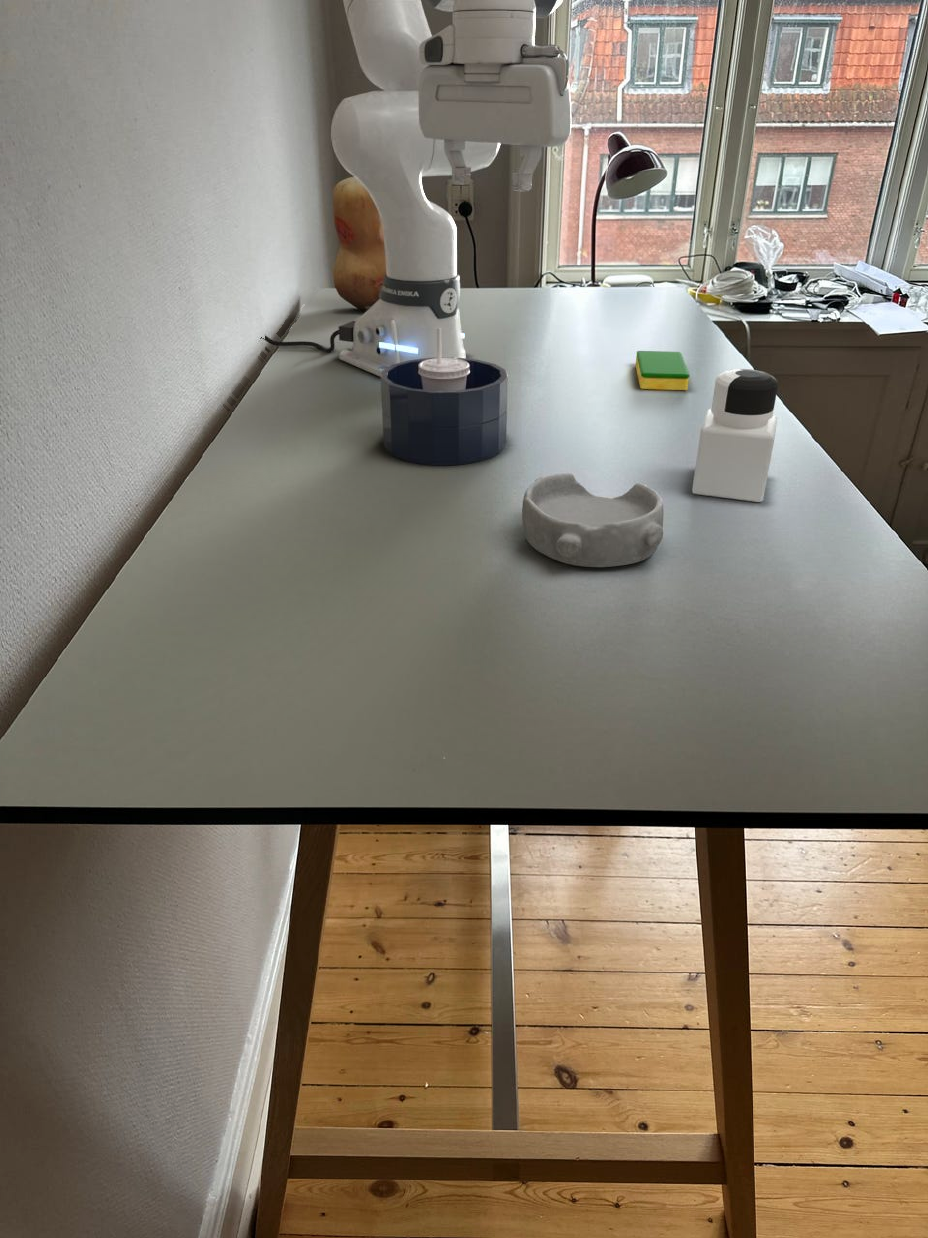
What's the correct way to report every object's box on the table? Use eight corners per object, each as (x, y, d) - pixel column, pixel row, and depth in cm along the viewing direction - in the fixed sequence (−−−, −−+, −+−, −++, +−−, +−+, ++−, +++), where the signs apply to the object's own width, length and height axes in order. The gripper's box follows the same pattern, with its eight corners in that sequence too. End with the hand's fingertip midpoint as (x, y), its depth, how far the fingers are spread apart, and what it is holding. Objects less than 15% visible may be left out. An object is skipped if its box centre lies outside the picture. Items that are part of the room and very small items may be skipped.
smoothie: (418, 432, 117) (416, 322, 109) (467, 430, 117) (467, 321, 110) (420, 449, 111) (418, 335, 104) (471, 447, 112) (472, 333, 104)
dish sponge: (679, 366, 146) (681, 351, 145) (687, 390, 134) (689, 374, 133) (635, 364, 147) (636, 350, 145) (640, 389, 135) (641, 373, 134)
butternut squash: (323, 308, 184) (312, 174, 171) (374, 299, 191) (368, 170, 178) (364, 319, 175) (356, 178, 162) (416, 309, 183) (412, 174, 170)
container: (765, 478, 104) (786, 367, 97) (762, 503, 98) (784, 387, 91) (698, 470, 106) (714, 361, 100) (691, 494, 100) (707, 379, 93)
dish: (519, 512, 96) (521, 469, 93) (648, 514, 95) (653, 470, 93) (523, 576, 83) (524, 527, 81) (671, 578, 83) (677, 529, 80)
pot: (359, 444, 114) (354, 374, 109) (443, 416, 124) (442, 350, 119) (446, 475, 105) (445, 400, 100) (530, 442, 115) (532, 372, 110)
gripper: (588, 44, 91) (578, 192, 99) (447, 46, 103) (448, 178, 111) (550, 43, 88) (542, 197, 95) (408, 45, 99) (411, 182, 107)
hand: (490, 187), depth 103 cm, fingers open, 8 cm apart
